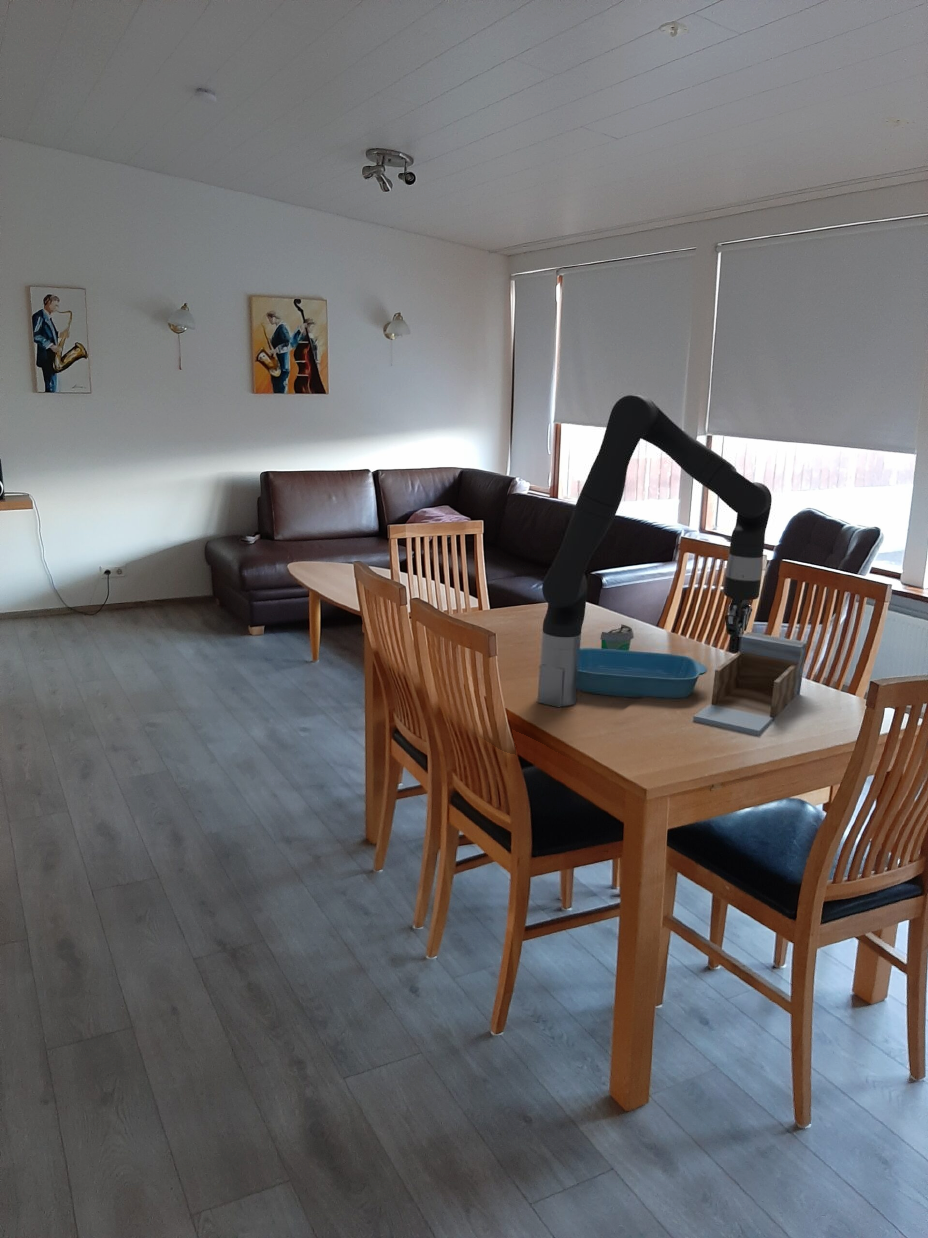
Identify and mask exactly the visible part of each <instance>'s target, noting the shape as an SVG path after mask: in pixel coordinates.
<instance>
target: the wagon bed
mask: <svg viewBox="0 0 928 1238" xmlns="http://www.w3.org/2000/svg"><path fill="white" fill-rule="evenodd" d="M807 643H808V641H803V640H797V639H790V638H784V637H779V636H773V635H768V634H761V633H755V632H750V631H746V632H745V633H744V634H743V636H742V640H741V648H740V651H739V652H738V653H735V654H734V655H733V656H731V657H730V658H728V659H727V660H726V661H725V662H724V663H722V664H721V665H719V666H718V667H717V668H716V669H715V670H714V677H713V686H712V696H711V703H710V704H711V705H716V706H720V707H725V708H730V709H734V710H739V711H744V712H748V713H753V714H757V715H762V716H767V717H771V718H775V719H776V717H778V716H779V714H780V713H782V711H783V710H784V709H785V708H786V707H787V706H788V705H789V704H790V703H791V701H792V700H793V699H794V698H795V697H796V696H799V694H800V695H801V688H802V682H803V681H802V680H803V673H804V665H805V658H806V652H807Z"/></svg>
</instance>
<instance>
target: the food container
mask: <svg viewBox="0 0 928 1238" xmlns="http://www.w3.org/2000/svg"><path fill="white" fill-rule="evenodd" d="M634 638H635V637H634V630H633V628H632V627H630V626H628V625H625V624H621V626H620V627H619V628H616V629H615V628H614V629H611V630H610V631H608V632H605V631H601V634H600V637H599V639H600V640H601V641H600V643H601V646H600V649H614V650H626V651H630V646H631V641H632V640H633V639H634Z"/></svg>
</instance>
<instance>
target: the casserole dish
mask: <svg viewBox="0 0 928 1238" xmlns="http://www.w3.org/2000/svg"><path fill="white" fill-rule="evenodd" d="M707 672H708V669H707V667H706V666H705V664H702V663H701V662H698V661H696V660H695V659H694V658H692V657H689V656H686V655H682V654H681V655H680V654H673V653H663V652H661V653H660V652H650V651H649V652H648V651H637V650H629V651H626V650H614V649H601V647H600V648H597V647H596V648H595V647H594V648H593V647H584V648H583V647H580V655H579V668H578V682H577V690H580V691H581V692H584V693H589V694H594V695H595V694H596V695H603V696H614V697H626V698H637V699H641V698H643V697H653V698H667V699H668V698H670V699H679V698H680V699H681V698H682V699H683V698H686V697H687V698H688V697H689V696H690V695H691V694H692V692H693V691H694V689H695V687H696V683H697V681H698V679H699V677H700V676H702V675H705V674H706V673H707Z"/></svg>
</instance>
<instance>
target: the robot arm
mask: <svg viewBox="0 0 928 1238" xmlns="http://www.w3.org/2000/svg"><path fill="white" fill-rule="evenodd" d="M610 411H611V412H610V415H609V418H608V421H607V425H606V428H605V432H604V434H603V439H602V442H601V445H600V448H599V450H598V453H597V455H596V457H595V460H594V462H593V463H592V465H591V468H590V470H589V472H588V475H587V478H586V480H585V481H584V485H583V487H582V488H581V491H580V494H579V496H578V498H577V500H576V503H575V505H574V508H573V512H572V514H571V517H570V519H569V522H568V526H567V528H566V532H565V535H564V536H563V537H564V538H563V541H562V542H561V546H560V548H559V550H558V552H557V554H556V556H555V558H554V560H553V562H552V563H551V566H550V567H549V569H548V571H547V573H546V575H545V577H544V579H543V581H542V584H541V588H542V589H541V591H542V596H543V598H544V600H545V602H546V603H547V610H546V612H545V613H546V614H545V615H544V619H543V622H542V633H541V647H540V648H541V649H540V651H541V653H540V665H539V674H538V688H537V690H538V691H537V703H539V704H540V703H541V704H543V705H549V706H552V707H557V708H561V707H566V706H567V707H569V706H572V705H574V704H576V703H577V693H578V688H577V682H578V668H579V655H580V648H581V642H582V641H581V640H582V630H583V629H582V628H583V623H584V622H585V621H584V620H585V614H586V608H587V607H586V605H587V597H588V580H587V577H586V574H585V573H586V570H587V567H588V565H589V562H590V560H591V557H592V556H593V554H594V553H595V551H596V550H597V548H598V546H600V544H601V542H602V541H603V539H604V537H605V536H606V534H607V532H608V531H609V529H610V527H611V526H612V523H613V522H614V518H615V517H616V514H617V512H618V510H619V507H620V504H621V502H622V499H623V495H624V492H625V486H626V479H627V473H628V468H629V464H630V462H631V459H632V456H633V455H634V452H635V450H636V448H637V446H638V444H639V442H640V441H641V440H643V441H645V442H647V443H649V444H650V445H651V444H652V445H653V446H655V447H657V448H658V449H659V450H660V451H662V452H664V454H666V455H667V456H668V457H669V458H670V459H672V461H674V462H675V463H676V464H677V465H678V466H679V467H680V468H681V469H682V470H683V471H684V472H685V473H686V474H687V475H689V476H690V477H691V478H693V479H694V480H695V481H697V482H698V483H699V484H701V485H702V486H704V488H706V489H707V490H709V491H711V492H712V493H714V494H715V495H716V496H717V497H718V498H719V499H721V501H723V503H725V504H726V505H727V506H728V507H729V508H730V509H731V510H732V511H734V512H735V513H737V514H736V521H735V522H736V523H735V526H734V529H733V531H732V533H731V537H730V543H729V554H728V558H727V562H726V568H725V575H724V587H723V595H724V596H725V597H726V598H730V600H731V601H730V604H728V606H727V613H728V614H725V615H724V622H725V629H726V635H729V636H730V637H729V641H728V642H729V644H728V652H730V653H733V654H737V653H738V652H739V651H740V648H741V640H742V636H743V635H744V634H745V632H747V628H748V625H749V622H750V617H751V615H752V612H753V607H752V605H750V602H751V601H753V600H757V599H759V597H760V592H761V584H762V577H763V575H762V574H763V565H764V564H763V559H764V551H765V550H764V548H765V540H766V530H767V526H768V523H769V517H770V513H771V509H772V500H773V497H772V493H771V490H770V489H769V487H767V485H765V484H763V483H762V482H756V481H755V482H752V481H751V480H749V479H747V478H746V477H745V476H743V475H742V474H741V473H740V472H738V471H737V468H735V466H734V465H733V464H732V463H730V461H728V460H727V459H725V458H724V457H722V456H721V455H719V454H718V453H716V452H715V451H714V450H712V449H711V448H709V447H707V446H706V445H705V444H703V443H702V442H700V441H699V440H697V439H695V438H694V436H691V435H690V434H689V433H688V432H686V431H685V430H683V429H682V428H681V427H679V426H678V425H677V424H676V423H675V422H674V421H673V420H672V419H670V418H669V416H667V414H665V413H664V412H663V410H662V409H661V408H660V407H659V406H657V404H656V403H655V402H654V401H653V400H652V399H651V398H650V397H647V396H645V395H642V394H627V395H624V396H622V397H621V398H619V399H618V401H616V402H615V404H614V405H613V406H612V408H611V410H610Z"/></svg>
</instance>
